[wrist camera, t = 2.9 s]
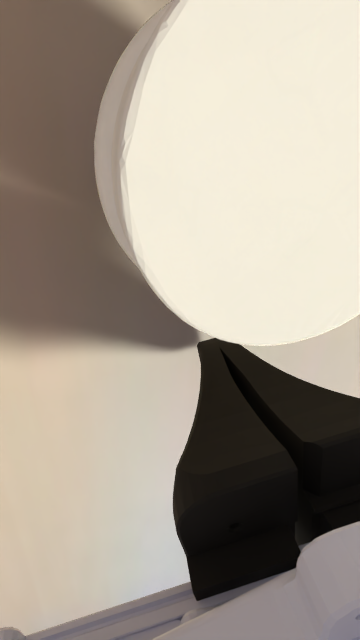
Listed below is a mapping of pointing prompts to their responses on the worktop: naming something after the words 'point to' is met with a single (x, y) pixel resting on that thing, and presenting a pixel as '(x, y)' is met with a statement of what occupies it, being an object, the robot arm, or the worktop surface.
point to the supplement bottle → (239, 164)
